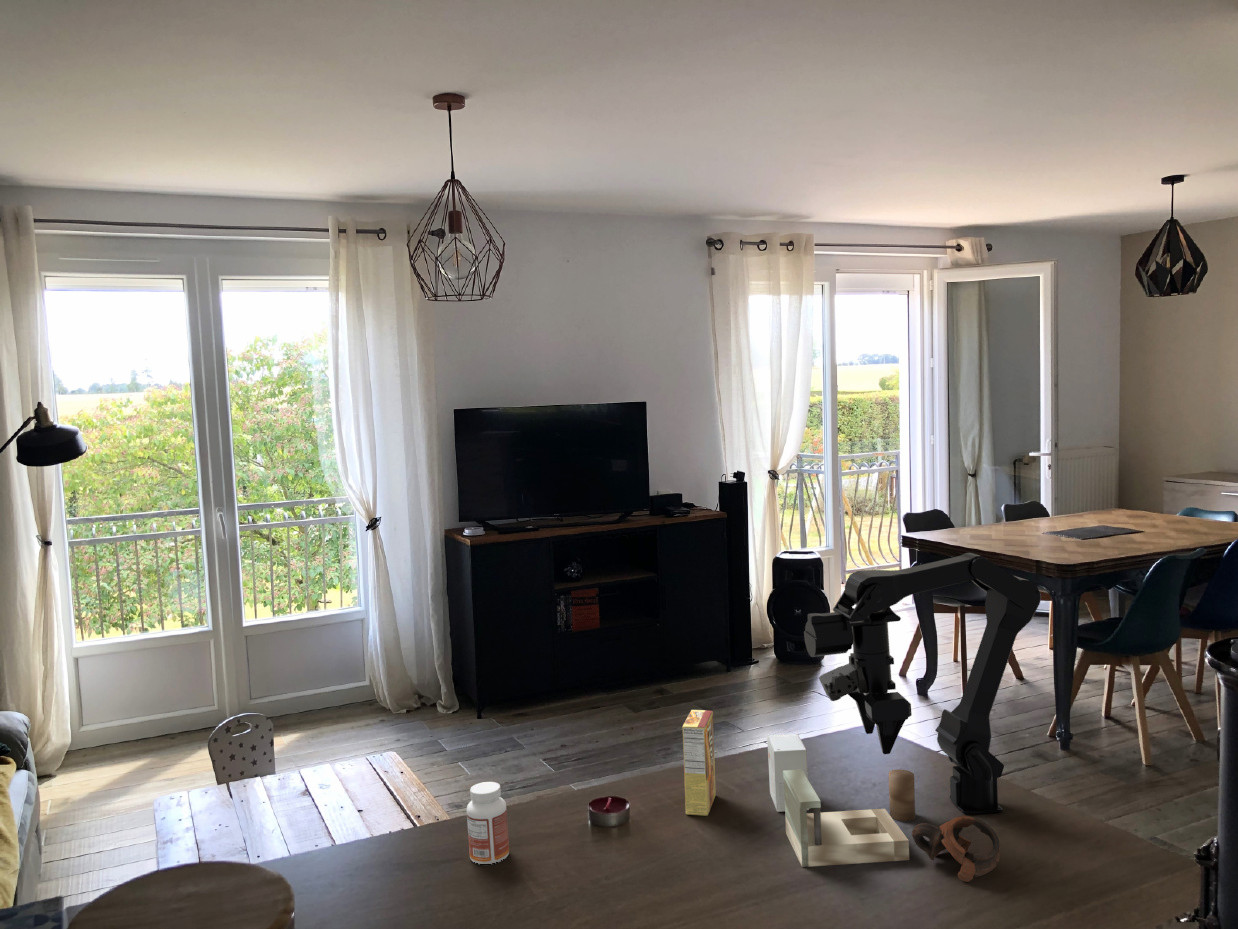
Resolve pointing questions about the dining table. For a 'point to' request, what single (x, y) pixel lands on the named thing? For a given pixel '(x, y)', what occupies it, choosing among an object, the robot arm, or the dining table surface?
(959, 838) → the pottery mug
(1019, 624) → the robot arm
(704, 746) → the candy box
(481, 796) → the pill bottle
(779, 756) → the small box
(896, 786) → the peg
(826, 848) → the shelter
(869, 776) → the dining table surface
